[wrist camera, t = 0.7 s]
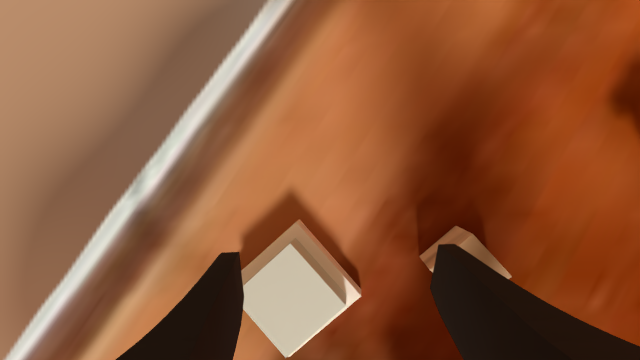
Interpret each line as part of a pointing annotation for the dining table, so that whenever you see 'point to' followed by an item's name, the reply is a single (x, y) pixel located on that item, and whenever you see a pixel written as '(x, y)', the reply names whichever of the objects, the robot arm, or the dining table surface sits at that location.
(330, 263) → the bottom slab
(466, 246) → the birch block
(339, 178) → the dining table surface
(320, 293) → the top slab
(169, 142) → the dining table surface
